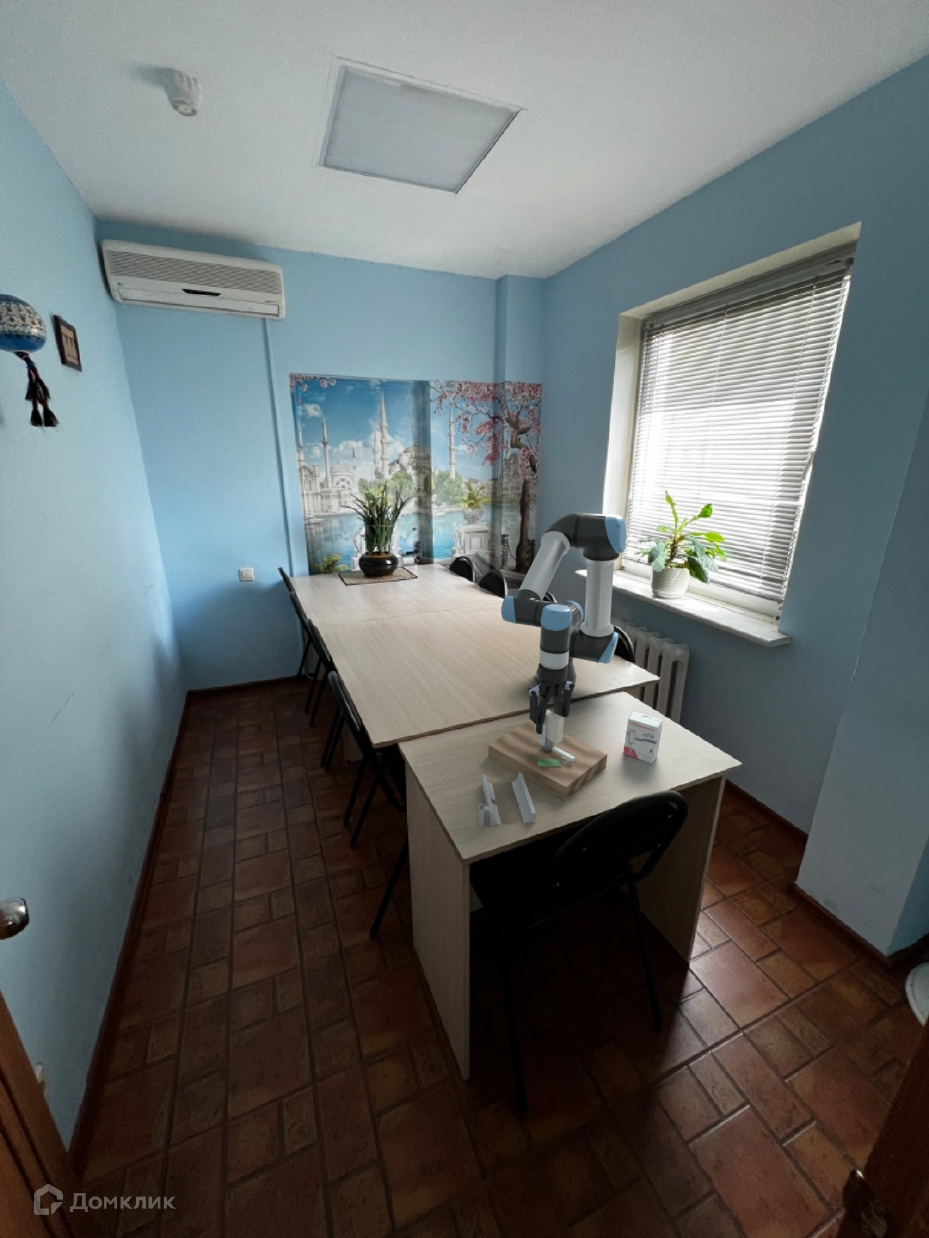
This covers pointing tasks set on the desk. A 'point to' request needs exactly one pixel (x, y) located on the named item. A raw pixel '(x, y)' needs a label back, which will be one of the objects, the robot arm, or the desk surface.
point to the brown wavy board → (548, 760)
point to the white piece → (554, 734)
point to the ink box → (643, 737)
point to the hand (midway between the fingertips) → (547, 741)
